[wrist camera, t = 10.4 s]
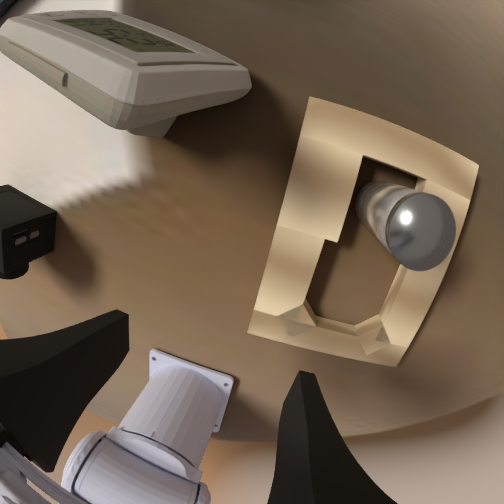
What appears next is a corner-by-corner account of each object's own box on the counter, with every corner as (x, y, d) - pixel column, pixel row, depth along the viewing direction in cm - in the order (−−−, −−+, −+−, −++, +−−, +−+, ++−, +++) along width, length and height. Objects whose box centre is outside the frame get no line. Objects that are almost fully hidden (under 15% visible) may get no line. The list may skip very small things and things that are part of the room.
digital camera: (6, 227, 24) (-36, 243, 17) (8, 184, 22) (-39, 195, 15) (54, 261, 23) (5, 287, 17) (57, 211, 21) (0, 230, 15)
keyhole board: (391, 355, 20) (395, 367, 19) (251, 321, 21) (247, 332, 20) (467, 164, 15) (478, 165, 13) (309, 101, 16) (309, 96, 14)
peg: (394, 233, 17) (443, 276, 10) (350, 223, 18) (380, 264, 10) (404, 186, 16) (463, 204, 9) (359, 175, 16) (398, 184, 9)
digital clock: (269, 92, 16) (227, 13, 6) (173, 184, 19) (61, 213, 9) (137, -9, 14) (61, -61, 4) (71, 66, 17) (-20, 50, 7)
